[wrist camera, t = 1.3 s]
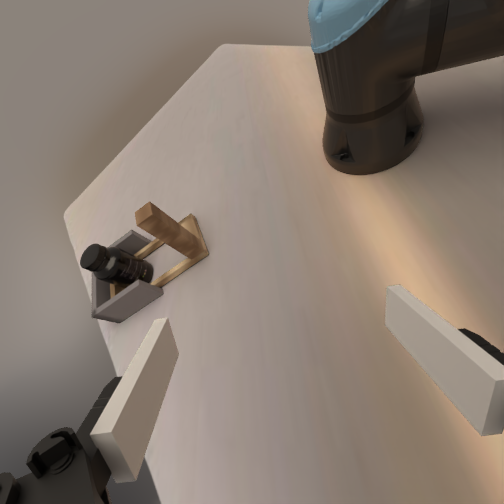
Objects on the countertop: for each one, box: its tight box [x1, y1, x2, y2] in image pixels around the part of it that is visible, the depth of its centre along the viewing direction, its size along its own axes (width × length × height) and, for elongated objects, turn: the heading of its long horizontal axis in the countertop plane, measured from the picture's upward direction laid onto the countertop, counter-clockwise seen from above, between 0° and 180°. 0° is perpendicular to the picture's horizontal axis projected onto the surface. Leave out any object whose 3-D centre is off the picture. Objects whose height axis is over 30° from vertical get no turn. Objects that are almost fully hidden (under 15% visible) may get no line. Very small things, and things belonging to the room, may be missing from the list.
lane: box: [92, 230, 163, 323], centre depth 51 cm, size 12×14×6 cm
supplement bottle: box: [80, 244, 153, 288], centre depth 48 cm, size 7×7×12 cm
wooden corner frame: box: [110, 201, 209, 298], centre depth 46 cm, size 22×11×14 cm, turn 114°
